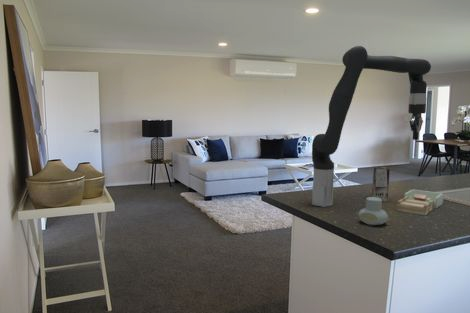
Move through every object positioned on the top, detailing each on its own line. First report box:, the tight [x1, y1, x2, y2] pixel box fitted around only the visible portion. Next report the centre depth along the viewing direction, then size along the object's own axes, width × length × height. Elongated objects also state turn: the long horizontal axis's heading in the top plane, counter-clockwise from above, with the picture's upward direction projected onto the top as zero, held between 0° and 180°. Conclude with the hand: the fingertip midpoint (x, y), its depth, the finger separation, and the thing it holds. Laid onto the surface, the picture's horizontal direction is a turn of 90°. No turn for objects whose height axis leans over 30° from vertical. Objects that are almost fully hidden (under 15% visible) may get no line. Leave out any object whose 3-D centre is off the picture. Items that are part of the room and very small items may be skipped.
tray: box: [403, 188, 444, 210], centre depth 181 cm, size 13×14×5 cm
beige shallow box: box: [395, 196, 435, 216], centre depth 170 cm, size 14×12×4 cm
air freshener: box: [358, 196, 389, 226], centre depth 149 cm, size 11×8×10 cm
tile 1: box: [414, 194, 427, 201], centre depth 177 cm, size 5×5×2 cm
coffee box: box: [371, 166, 391, 203], centre depth 188 cm, size 9×6×16 cm
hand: (415, 139), depth 181 cm, fingers closed
